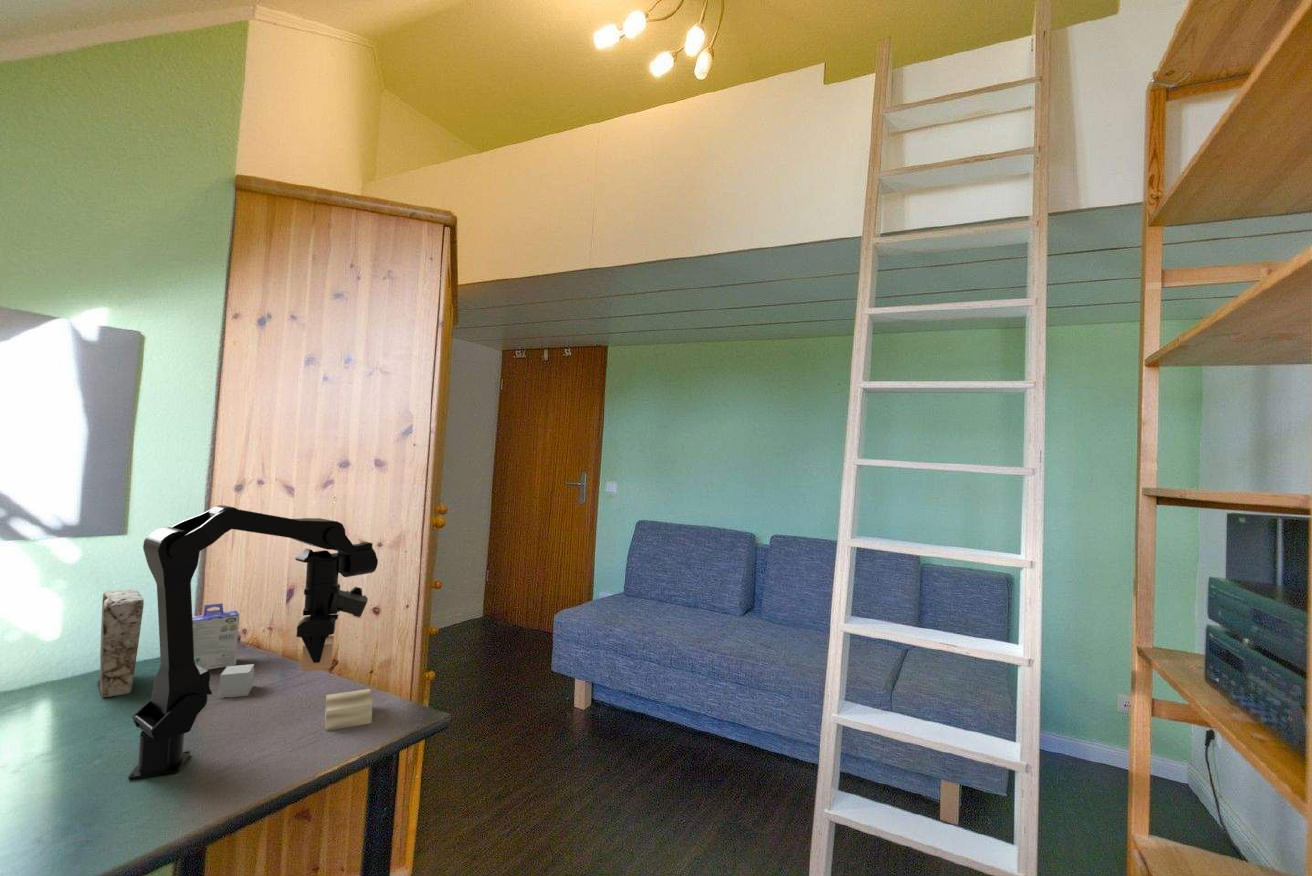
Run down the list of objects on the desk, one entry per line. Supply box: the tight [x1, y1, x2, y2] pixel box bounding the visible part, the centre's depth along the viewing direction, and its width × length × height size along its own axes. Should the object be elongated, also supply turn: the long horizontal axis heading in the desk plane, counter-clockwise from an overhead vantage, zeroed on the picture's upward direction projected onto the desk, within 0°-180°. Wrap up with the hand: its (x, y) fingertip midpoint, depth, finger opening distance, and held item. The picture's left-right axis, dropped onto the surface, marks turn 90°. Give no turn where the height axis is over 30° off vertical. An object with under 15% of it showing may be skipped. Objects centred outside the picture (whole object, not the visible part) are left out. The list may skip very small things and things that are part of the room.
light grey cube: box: [218, 663, 255, 699], centre depth 126 cm, size 5×5×5 cm
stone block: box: [96, 589, 145, 698], centre depth 125 cm, size 13×7×20 cm, turn 52°
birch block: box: [324, 688, 373, 732], centre depth 117 cm, size 8×8×4 cm
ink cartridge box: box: [192, 603, 240, 671], centre depth 139 cm, size 10×6×14 cm, turn 133°
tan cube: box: [301, 635, 335, 672], centre depth 118 cm, size 5×5×5 cm
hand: (318, 657), depth 118 cm, fingers closed on tan cube, 5 cm apart
